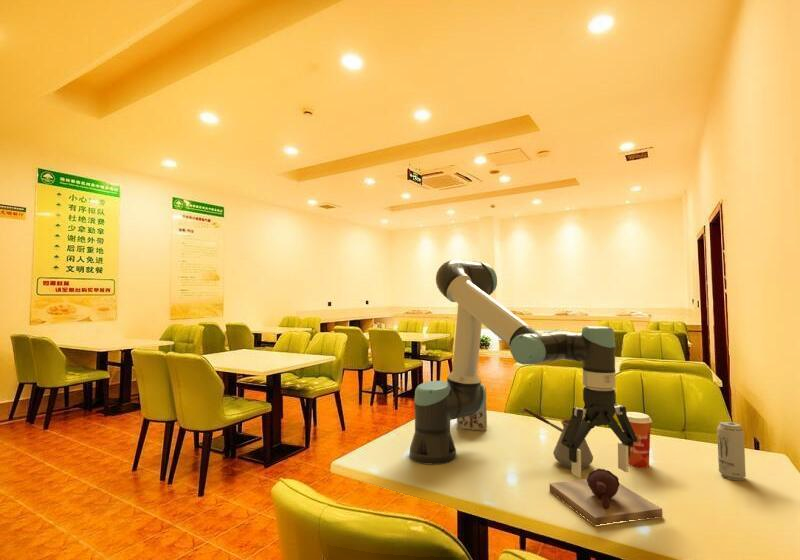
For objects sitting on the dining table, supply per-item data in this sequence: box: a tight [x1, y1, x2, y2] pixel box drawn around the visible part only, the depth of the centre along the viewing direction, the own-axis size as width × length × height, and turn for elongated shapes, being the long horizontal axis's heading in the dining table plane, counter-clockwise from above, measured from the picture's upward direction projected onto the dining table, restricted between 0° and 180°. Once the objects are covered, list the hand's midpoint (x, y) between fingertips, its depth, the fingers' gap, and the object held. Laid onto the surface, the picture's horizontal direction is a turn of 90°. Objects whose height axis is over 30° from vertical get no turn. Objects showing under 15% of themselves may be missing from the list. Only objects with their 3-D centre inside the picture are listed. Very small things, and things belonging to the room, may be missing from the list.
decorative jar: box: [456, 385, 488, 432], centre depth 167 cm, size 12×12×18 cm
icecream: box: [586, 468, 621, 509], centre depth 103 cm, size 7×7×15 cm
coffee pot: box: [521, 408, 594, 470], centre depth 131 cm, size 21×12×15 cm, turn 54°
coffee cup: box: [626, 411, 653, 469], centre depth 128 cm, size 8×8×15 cm
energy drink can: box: [716, 420, 747, 481], centre depth 119 cm, size 6×6×15 cm
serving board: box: [549, 478, 663, 526], centre depth 103 cm, size 18×18×2 cm
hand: (600, 472), depth 104 cm, fingers open, 13 cm apart
